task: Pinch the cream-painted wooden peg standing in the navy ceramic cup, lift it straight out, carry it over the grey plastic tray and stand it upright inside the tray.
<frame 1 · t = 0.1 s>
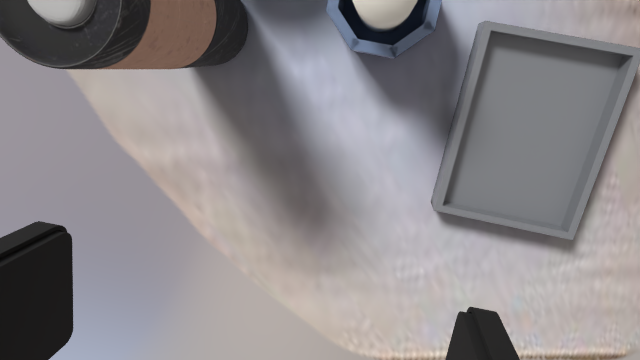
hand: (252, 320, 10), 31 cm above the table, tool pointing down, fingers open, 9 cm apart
cup: (384, 6, 37), on the table
travel mug: (211, 24, 39), on the table
tray: (521, 131, 38), on the table
peg: (384, 5, 36), point 1 cm above the table, touching cup
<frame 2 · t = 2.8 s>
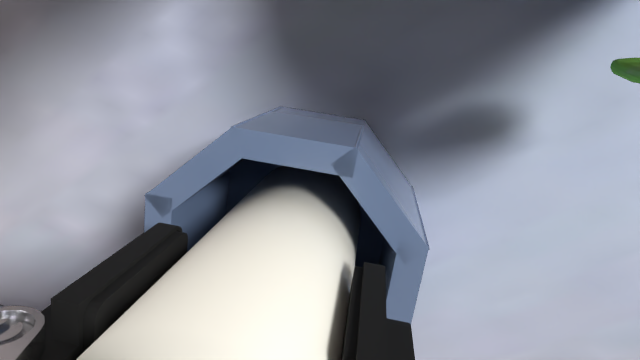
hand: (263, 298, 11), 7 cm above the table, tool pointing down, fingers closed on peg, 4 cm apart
cup: (308, 208, 18), on the table
peg: (304, 216, 17), point 1 cm above the table, touching cup, gripper
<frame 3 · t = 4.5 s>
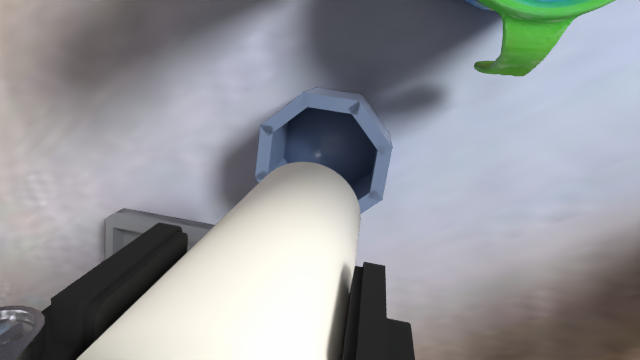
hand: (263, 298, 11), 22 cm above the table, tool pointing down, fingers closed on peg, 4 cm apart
cup: (330, 145, 32), on the table
tray: (212, 291, 36), on the table
peg: (304, 215, 17), point 15 cm above the table, touching gripper
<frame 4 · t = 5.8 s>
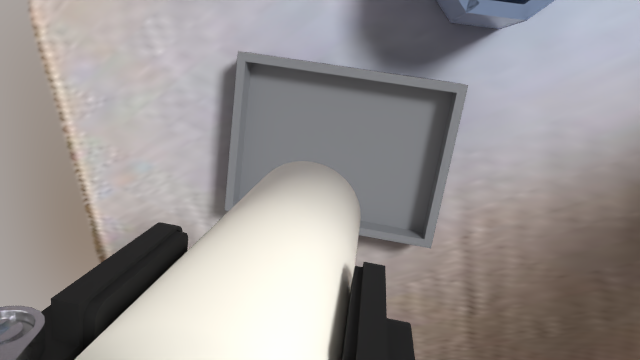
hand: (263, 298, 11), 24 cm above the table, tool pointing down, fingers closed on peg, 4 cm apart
tray: (340, 146, 34), on the table
peg: (304, 215, 17), point 17 cm above the table, touching gripper
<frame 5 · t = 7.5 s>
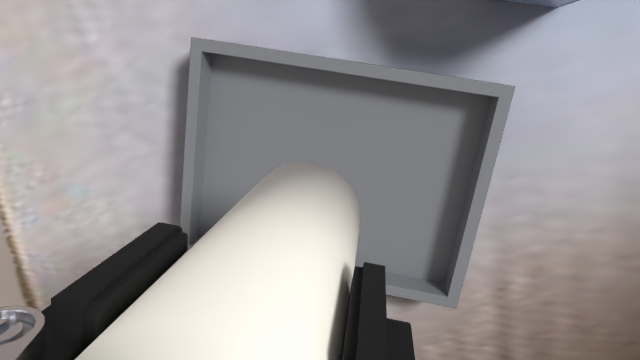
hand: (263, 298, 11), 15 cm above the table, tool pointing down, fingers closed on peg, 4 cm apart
tray: (334, 167, 25), on the table
peg: (304, 215, 17), point 8 cm above the table, touching gripper
when the fingers open (9 cm above the table, at t = 9.0 s): peg drops 1 cm, resting on tray.
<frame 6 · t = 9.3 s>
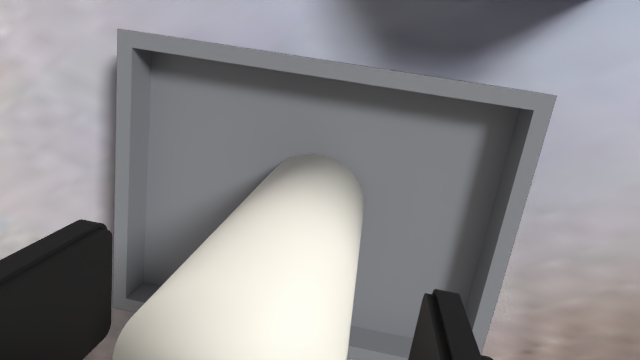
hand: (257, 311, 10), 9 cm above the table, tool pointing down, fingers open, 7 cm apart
tray: (313, 197, 20), on the table
peg: (312, 203, 18), point 1 cm above the table, touching tray
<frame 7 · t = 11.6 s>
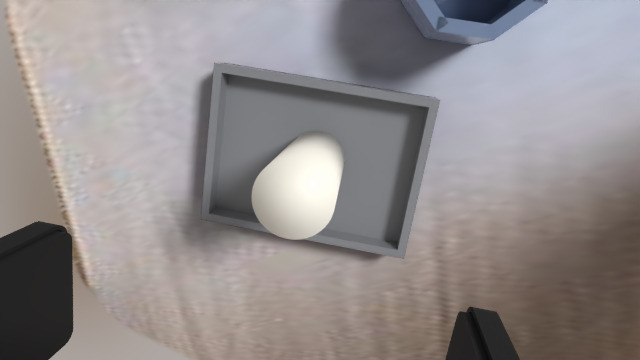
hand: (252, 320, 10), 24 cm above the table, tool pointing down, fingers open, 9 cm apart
tray: (316, 157, 34), on the table
peg: (315, 159, 33), point 1 cm above the table, touching tray
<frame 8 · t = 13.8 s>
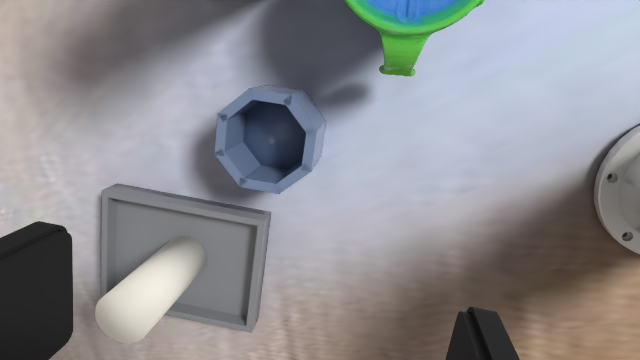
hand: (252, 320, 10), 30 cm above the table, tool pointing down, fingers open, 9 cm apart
cup: (281, 131, 40), on the table
tray: (189, 252, 44), on the table
peg: (185, 256, 43), point 1 cm above the table, touching tray
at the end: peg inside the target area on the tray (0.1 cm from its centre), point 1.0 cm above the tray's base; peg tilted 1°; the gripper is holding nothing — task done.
